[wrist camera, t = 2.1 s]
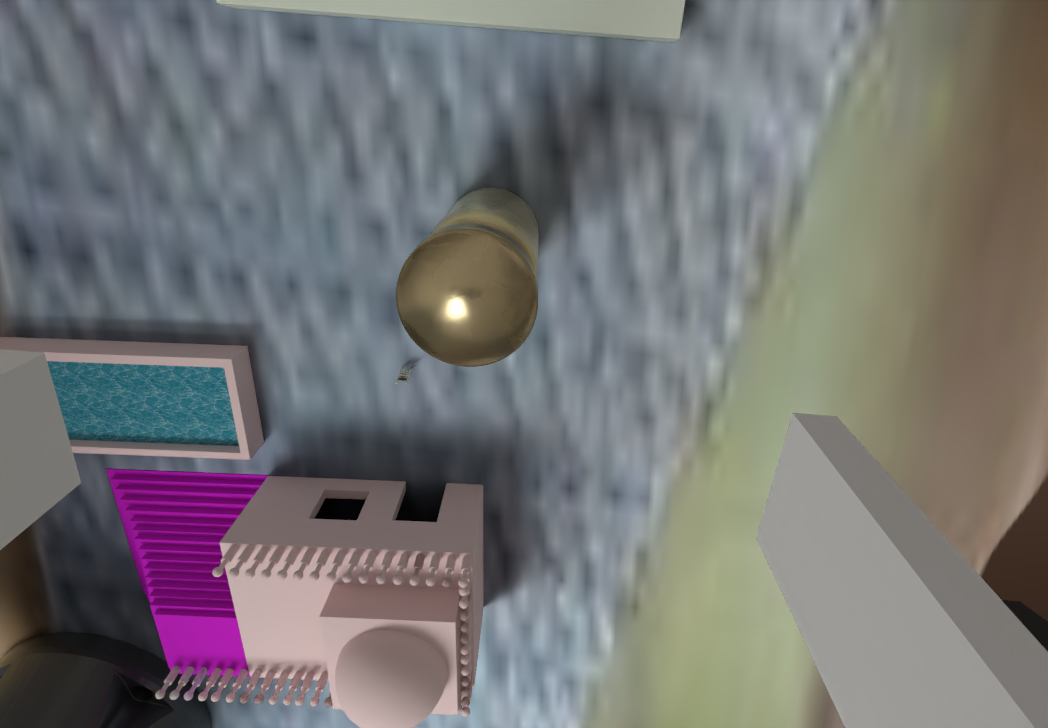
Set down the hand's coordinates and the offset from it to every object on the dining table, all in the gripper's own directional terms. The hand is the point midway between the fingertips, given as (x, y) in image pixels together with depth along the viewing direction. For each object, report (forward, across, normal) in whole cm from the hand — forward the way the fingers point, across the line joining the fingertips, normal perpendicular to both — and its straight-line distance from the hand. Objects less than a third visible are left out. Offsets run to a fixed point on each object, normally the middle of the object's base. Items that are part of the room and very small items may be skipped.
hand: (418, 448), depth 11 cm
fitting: (+19, 0, 0) cm, 19 cm away
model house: (+19, -12, -16) cm, 28 cm away
